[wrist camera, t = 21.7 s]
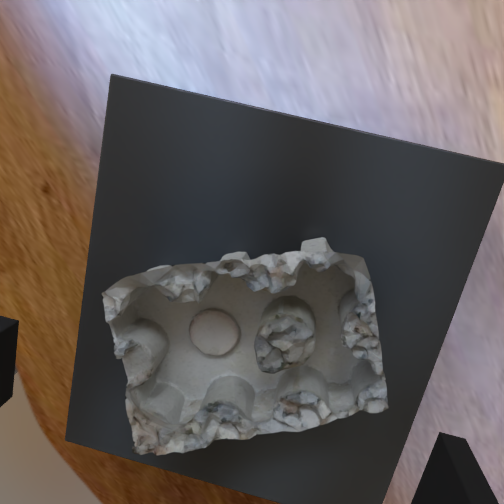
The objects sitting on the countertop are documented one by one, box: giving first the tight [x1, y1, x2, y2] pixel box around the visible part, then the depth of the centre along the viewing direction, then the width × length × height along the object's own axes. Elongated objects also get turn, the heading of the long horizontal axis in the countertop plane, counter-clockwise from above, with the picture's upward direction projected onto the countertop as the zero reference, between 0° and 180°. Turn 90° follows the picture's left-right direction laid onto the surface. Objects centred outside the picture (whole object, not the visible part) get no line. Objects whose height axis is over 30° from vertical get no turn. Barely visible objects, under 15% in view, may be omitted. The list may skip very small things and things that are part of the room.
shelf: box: [65, 74, 504, 504], centre depth 23 cm, size 16×18×6 cm
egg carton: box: [102, 237, 388, 455], centre depth 18 cm, size 11×8×4 cm
